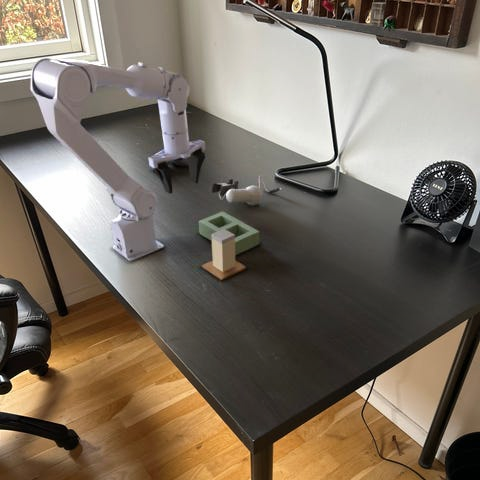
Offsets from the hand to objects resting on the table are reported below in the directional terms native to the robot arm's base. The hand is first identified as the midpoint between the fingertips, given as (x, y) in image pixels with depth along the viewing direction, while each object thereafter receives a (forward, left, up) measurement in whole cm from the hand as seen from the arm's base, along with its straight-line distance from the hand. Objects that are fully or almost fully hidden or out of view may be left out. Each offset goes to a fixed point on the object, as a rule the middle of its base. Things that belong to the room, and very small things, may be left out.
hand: (181, 186), depth 119 cm
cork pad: (-5, -22, -10) cm, 24 cm away
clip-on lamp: (+22, 0, -11) cm, 24 cm away
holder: (+4, -13, -10) cm, 17 cm away
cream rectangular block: (-5, -22, -10) cm, 24 cm away
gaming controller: (+18, +32, -11) cm, 39 cm away
